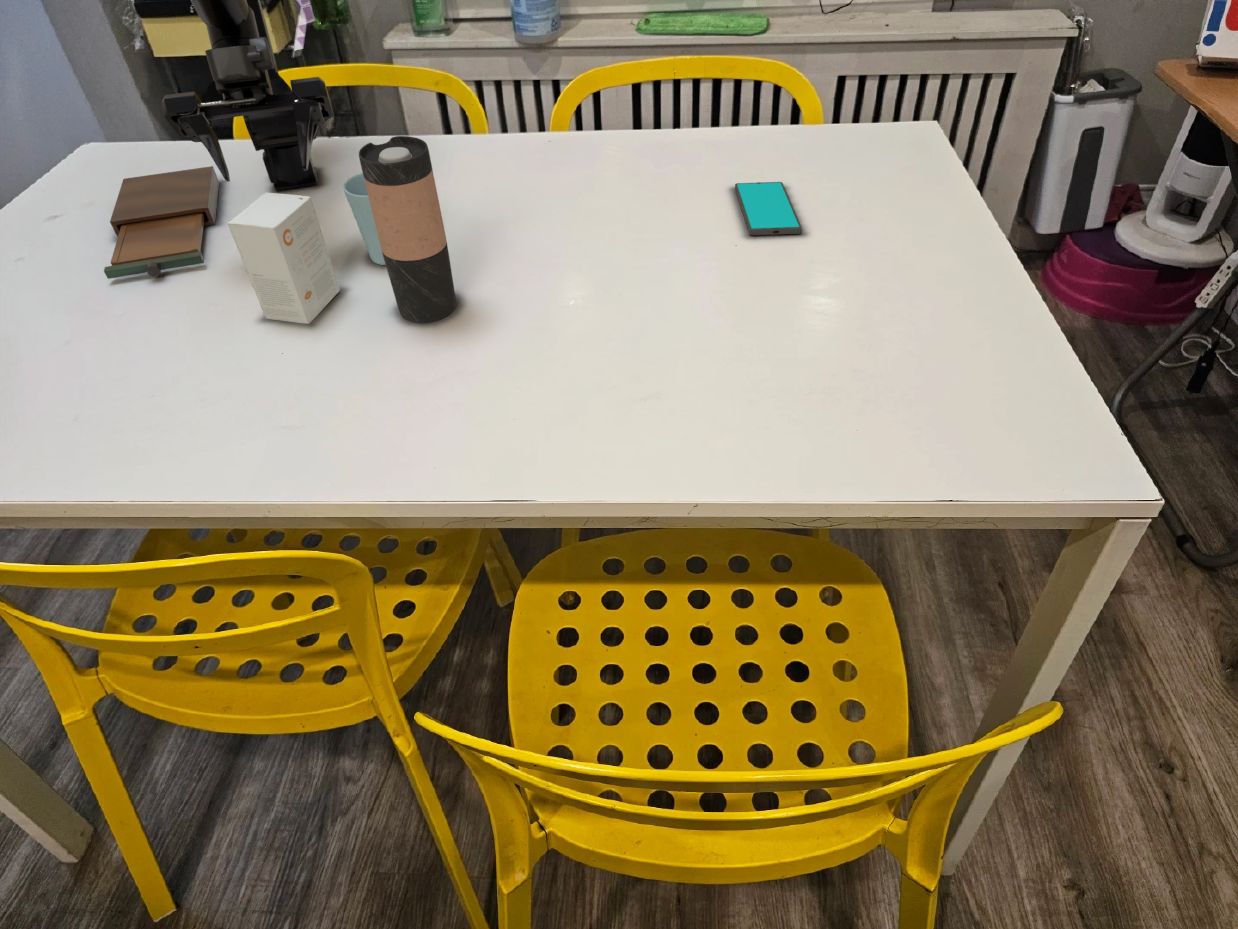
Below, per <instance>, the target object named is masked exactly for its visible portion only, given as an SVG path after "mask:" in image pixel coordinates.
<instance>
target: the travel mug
mask: <svg viewBox="0 0 1238 929" xmlns="http://www.w3.org/2000/svg"><path fill="white" fill-rule="evenodd" d="M358 158H359V163H360V167H361V173H363V176H364V180H365V184H366V188H367V192H368V196H369V201H370V205H371V209H372V213H373V217H374V221H375V225H376V230H377V234H378V238H379V242H380V246H381V250H382V254H383V257H384V261H385V264H386V265H385V267H386V270H387V271H386V272H387V274H388V278H389V281H390V285H391V289H392V292H393V295H394V298H395V299H394V300H395V302H396V305H397V309H398V311H399V314H400V316H401V317H402V318H404V319H405V320H407V321H408V322H412V323H416V324H417V323H418V324H421V323H422V324H426V323H433V322H437V321H441V320H443V319H445V318H446V317H448V316H450V315H451V314H452V313H453V312H454V311H455V309H456V307H457V300H456V292H455V285H454V279H453V278H454V277H453V273H452V267H451V266H452V265H451V259H450V254H449V247H448V241H447V236H446V230H445V225H444V221H443V220H444V219H443V214H442V210H441V205H440V200H439V195H438V190H437V185H436V179H435V175H434V170H433V166H432V159H431V155H430V150H429V145H428V143H427V142H426V141H425V140H423V139H421V138H418V137H415V136H407V135H396V136H392V137H391V138H390V139H389V140H388V141H386V142H383V143H381V144H375V143H372V142H368V143H366V144H364V145H363V146H362V147H361V148H360V149H359V150H358Z"/></svg>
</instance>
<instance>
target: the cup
mask: <svg viewBox="0 0 1238 929" xmlns="http://www.w3.org/2000/svg"><path fill="white" fill-rule="evenodd" d="M342 189H343V191H344V192H343V193H344V195H345V197H346V200H347V202H348V205H349V207H350V209H351V212H352V215H353V217H354V220H355V222H356V225H357V227H358V229H359V233H360V235H361V237H362V240H363V242H364V246H365V248H366V250H367V253H368V255H369V258H370V259H371V261H372V262H373V263H375V264H377V265H381V266H386V264H385V261H384V257H383V254H382V250H381V246H380V242H379V238H378V234H377V230H376V225H375V221H374V217H373V213H372V209H371V205H370V201H369V196H368V192H367V188H366V184H365V180H364V176H363V172H361V173H358V174H355V175H353V176H351V177H349V178H348V179H347V180H346V181H345V182H344V184H342Z"/></svg>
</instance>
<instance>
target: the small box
mask: <svg viewBox="0 0 1238 929" xmlns="http://www.w3.org/2000/svg"><path fill="white" fill-rule="evenodd" d="M227 226H228V228H229V231H230V233H231V235H232V238H233V240H234V243H235V245H236V248H237V250H238V253H239V255H240V258H241V260H242V262H243V266H244V268H245V271H246V272H247V275H248V278H249V281H250V282H251V285H252V288H253V290H254V292H255V295H256V298H257V300H258V302H259V305H260V307H261V310H262V313H263V315H264V317H265V319H267V320H273V321H274V320H275V321H281V322H289V323H295V324H296V323H297V324H303V325H304V324H307V325H310V324H311V323H312V322H313V320H314V319H316V317H318V315H319V314H320V313H321V312H322V311H323V310H324V308H326V306H328V304H329V303H330V302H331V301H332V300H333V299H334V298H335V297H336V295H338V293H339V292H340V291H341V289H340V286H339V283H338V280H337V277H336V273H335V270H334V267H333V265H332V261H331V257H330V254H329V251H328V248H327V245H326V242H325V239H324V235H323V232H322V230H321V225H320V223H319V220H318V217H317V213H316V208H315V206H314V204H313V200H312V197H311V196H308V195H300V194H299V195H298V194H288V193H279V192H278V193H277V192H264V193H263V194H262V195H261V196H259V197H258V198H257V199H255V200H254V201H253V202H252V203H251V204H249V205H248V206H247V207H245V208H244V209H243V210H242V211H240V212H239V213H238V214H236V216H234V217H233V218H232V219H230V220H229V221H227Z"/></svg>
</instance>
